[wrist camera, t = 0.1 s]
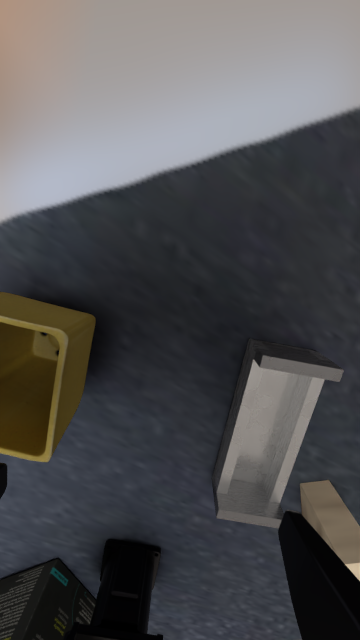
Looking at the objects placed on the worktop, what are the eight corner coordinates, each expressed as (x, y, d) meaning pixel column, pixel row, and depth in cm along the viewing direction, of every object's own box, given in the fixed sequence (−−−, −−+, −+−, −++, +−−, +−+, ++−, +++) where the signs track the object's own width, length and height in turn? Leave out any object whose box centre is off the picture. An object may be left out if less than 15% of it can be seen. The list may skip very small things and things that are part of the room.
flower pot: (10, 366, 23) (-99, 432, 14) (18, 277, 21) (-104, 289, 12) (100, 388, 23) (48, 466, 14) (117, 302, 21) (68, 332, 12)
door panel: (331, 535, 27) (381, 628, 20) (303, 538, 27) (343, 631, 20) (329, 479, 25) (384, 560, 18) (299, 483, 25) (342, 564, 18)
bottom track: (268, 488, 25) (283, 529, 22) (211, 478, 25) (216, 518, 21) (315, 350, 22) (344, 370, 18) (249, 338, 21) (263, 355, 18)
